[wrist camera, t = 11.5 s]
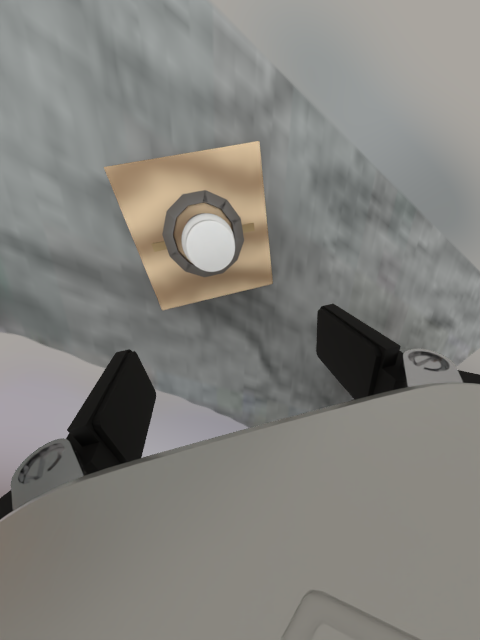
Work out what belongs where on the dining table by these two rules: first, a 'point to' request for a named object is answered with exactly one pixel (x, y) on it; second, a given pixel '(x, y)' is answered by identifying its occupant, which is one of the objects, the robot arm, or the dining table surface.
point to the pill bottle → (208, 242)
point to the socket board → (191, 199)
